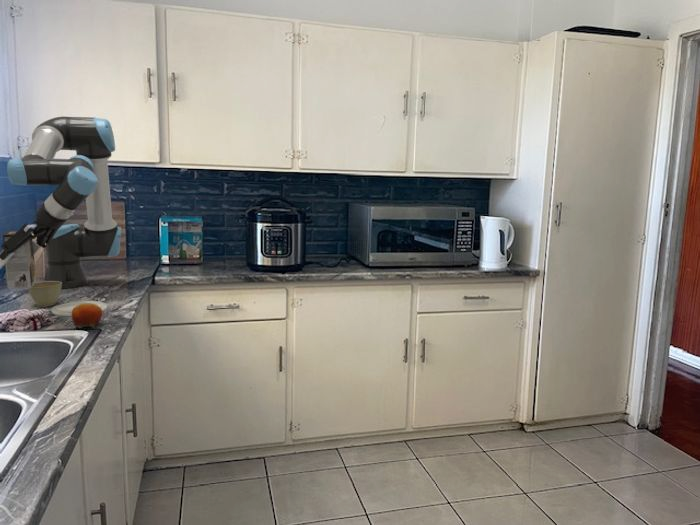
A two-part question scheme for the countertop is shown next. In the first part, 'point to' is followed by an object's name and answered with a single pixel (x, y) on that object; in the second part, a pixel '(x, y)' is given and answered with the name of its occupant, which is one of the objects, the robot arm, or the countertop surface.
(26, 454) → the countertop surface
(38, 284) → the flower pot
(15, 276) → the coffee box
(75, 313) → the fruit
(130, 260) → the countertop surface
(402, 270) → the countertop surface
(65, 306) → the plate
